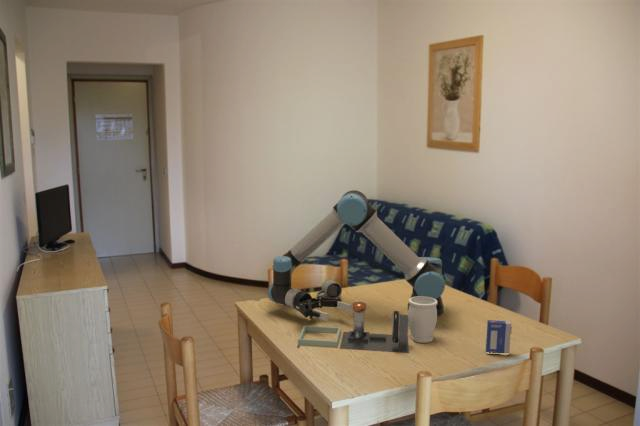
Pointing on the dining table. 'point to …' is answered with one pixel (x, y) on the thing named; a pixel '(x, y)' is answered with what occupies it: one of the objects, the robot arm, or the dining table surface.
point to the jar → (422, 318)
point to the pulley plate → (381, 338)
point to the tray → (319, 342)
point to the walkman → (498, 336)
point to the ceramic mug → (330, 289)
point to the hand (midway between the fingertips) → (339, 312)
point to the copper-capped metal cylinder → (359, 319)
